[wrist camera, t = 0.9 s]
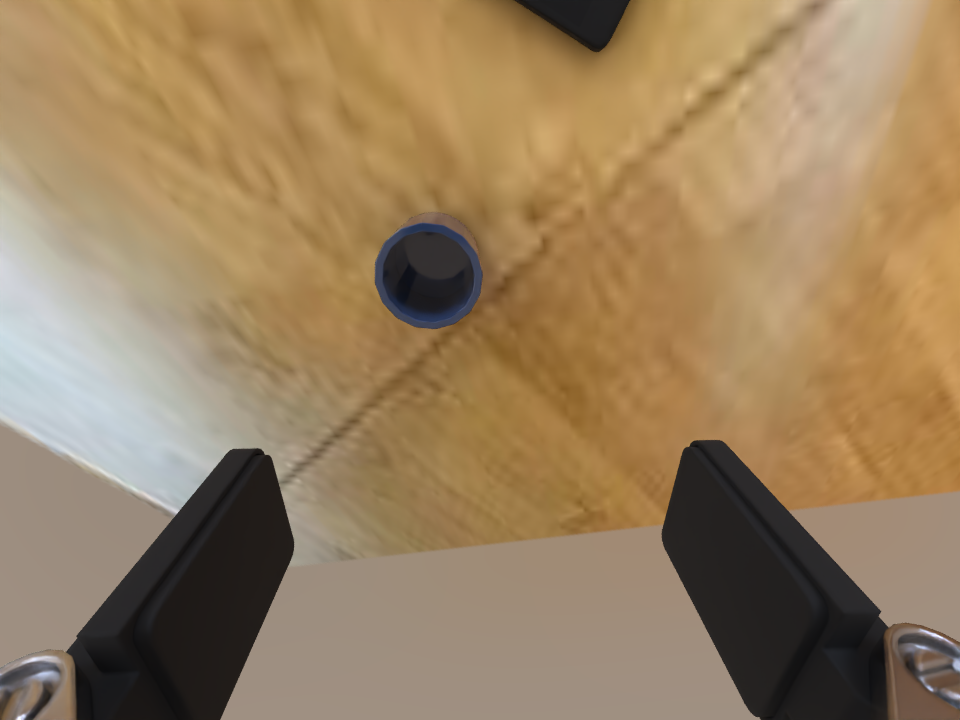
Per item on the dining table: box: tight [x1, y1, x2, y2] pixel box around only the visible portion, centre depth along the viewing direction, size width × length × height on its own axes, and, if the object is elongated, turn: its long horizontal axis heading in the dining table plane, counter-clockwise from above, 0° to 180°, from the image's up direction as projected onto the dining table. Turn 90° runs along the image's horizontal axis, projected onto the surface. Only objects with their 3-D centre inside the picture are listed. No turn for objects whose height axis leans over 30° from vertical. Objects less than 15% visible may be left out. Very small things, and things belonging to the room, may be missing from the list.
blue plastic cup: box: [375, 212, 483, 329], centre depth 28 cm, size 7×7×6 cm
